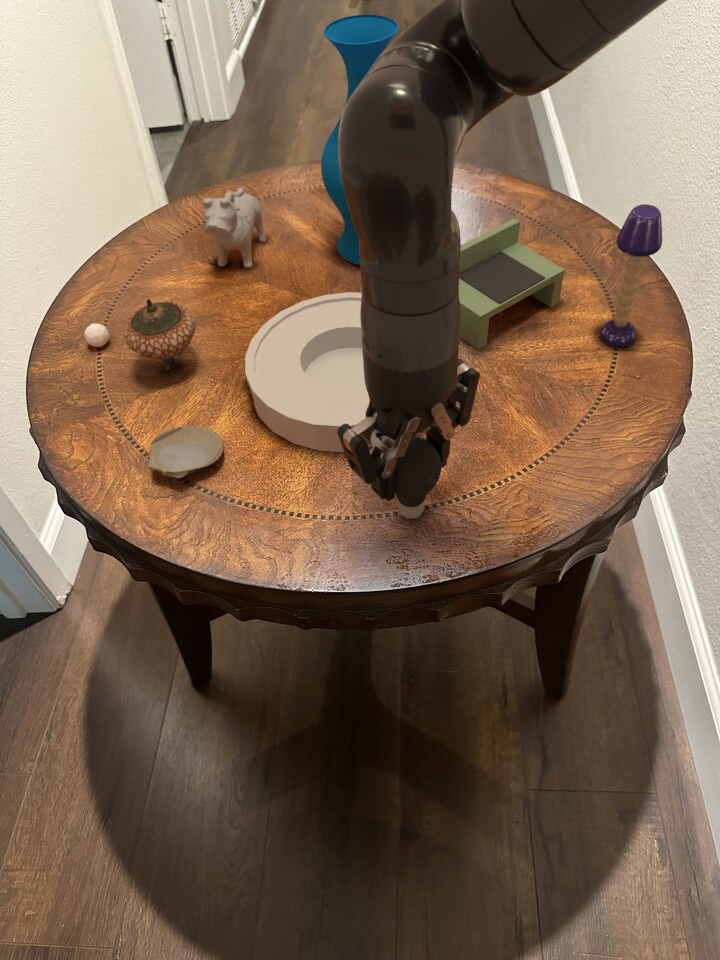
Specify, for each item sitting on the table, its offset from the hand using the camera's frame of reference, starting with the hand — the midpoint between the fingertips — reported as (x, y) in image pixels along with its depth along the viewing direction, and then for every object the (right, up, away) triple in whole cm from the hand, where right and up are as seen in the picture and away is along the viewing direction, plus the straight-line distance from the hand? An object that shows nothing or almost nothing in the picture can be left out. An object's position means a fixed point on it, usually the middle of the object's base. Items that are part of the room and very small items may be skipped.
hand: (411, 477), depth 70 cm
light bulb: (0, -4, +4) cm, 6 cm away
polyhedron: (-38, +17, +25) cm, 48 cm away
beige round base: (-6, +11, +18) cm, 22 cm away
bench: (+12, +22, +25) cm, 35 cm away
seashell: (-23, +2, +11) cm, 26 cm away
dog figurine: (-22, +32, +36) cm, 52 cm away
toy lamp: (+26, +17, +20) cm, 37 cm away
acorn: (-28, +13, +21) cm, 37 cm away
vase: (-3, +33, +35) cm, 48 cm away
